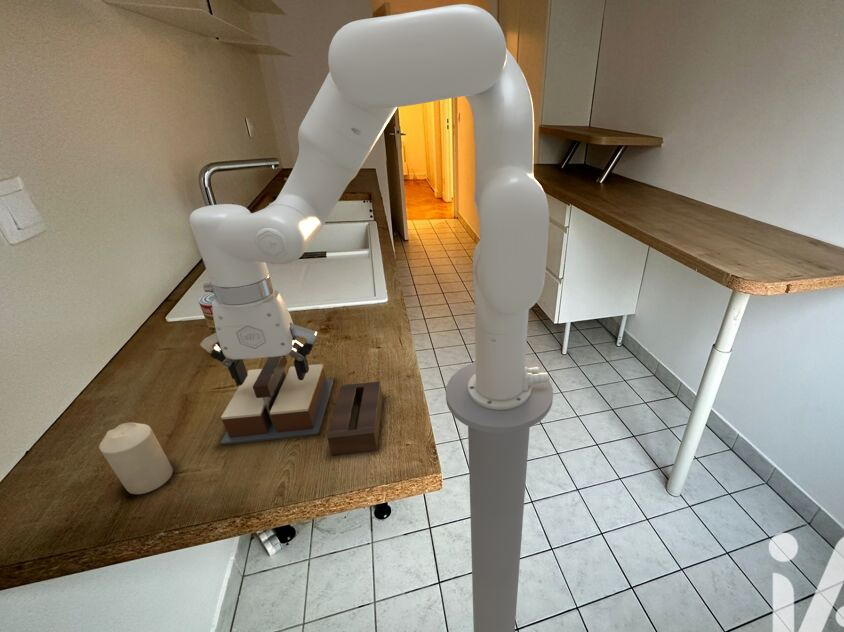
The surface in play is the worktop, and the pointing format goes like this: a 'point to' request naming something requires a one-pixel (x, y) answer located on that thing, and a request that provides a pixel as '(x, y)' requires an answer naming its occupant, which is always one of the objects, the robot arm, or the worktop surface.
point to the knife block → (345, 415)
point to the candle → (136, 457)
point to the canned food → (208, 311)
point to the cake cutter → (270, 381)
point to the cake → (278, 408)
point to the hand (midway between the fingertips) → (273, 378)
